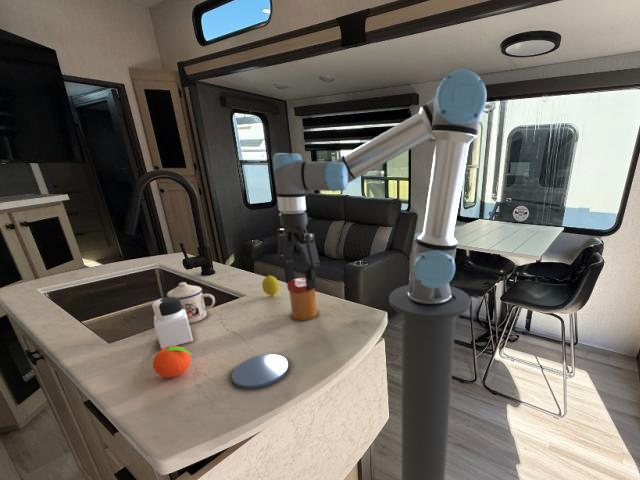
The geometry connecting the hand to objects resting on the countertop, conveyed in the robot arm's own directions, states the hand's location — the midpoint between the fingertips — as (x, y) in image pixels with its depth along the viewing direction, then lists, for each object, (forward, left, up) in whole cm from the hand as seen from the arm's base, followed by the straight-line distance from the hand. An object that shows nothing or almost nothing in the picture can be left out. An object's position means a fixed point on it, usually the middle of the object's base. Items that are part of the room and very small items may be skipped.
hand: (300, 285), depth 98 cm
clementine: (0, +37, -10) cm, 38 cm away
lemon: (+22, -4, -10) cm, 24 cm away
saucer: (-15, +26, -10) cm, 32 cm away
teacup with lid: (+27, +20, -10) cm, 35 cm away
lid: (0, 0, +1) cm, 1 cm away
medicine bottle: (+17, +30, -10) cm, 36 cm away
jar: (0, 0, -10) cm, 10 cm away
